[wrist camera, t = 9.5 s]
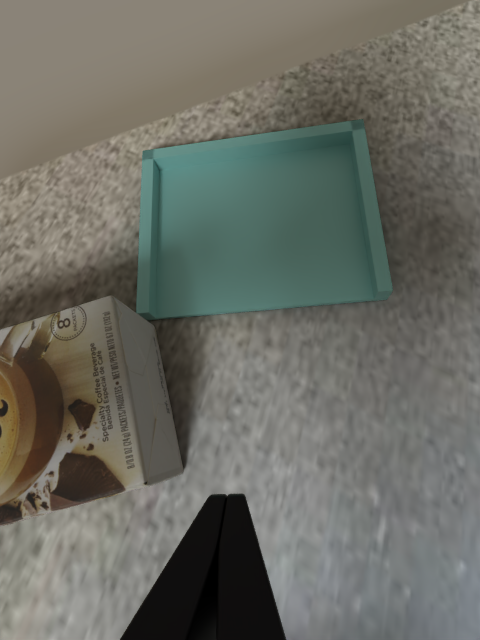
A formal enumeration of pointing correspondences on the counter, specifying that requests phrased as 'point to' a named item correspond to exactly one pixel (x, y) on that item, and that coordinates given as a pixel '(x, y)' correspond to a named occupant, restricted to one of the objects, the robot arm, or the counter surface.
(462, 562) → the counter surface
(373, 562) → the counter surface
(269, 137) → the tray
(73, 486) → the coffee box
